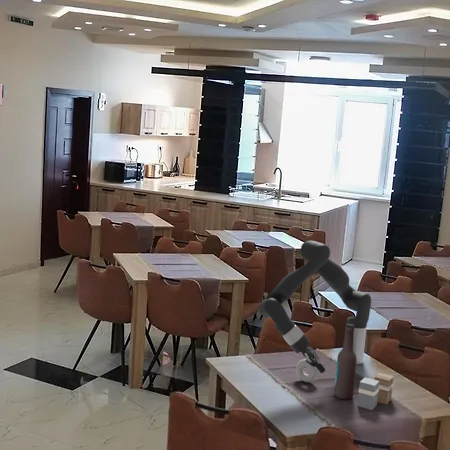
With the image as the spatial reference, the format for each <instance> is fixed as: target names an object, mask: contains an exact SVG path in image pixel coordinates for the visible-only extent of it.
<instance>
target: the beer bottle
mask: <svg viewBox="0 0 450 450" xmlns="http://www.w3.org/2000/svg"><path fill="white" fill-rule="evenodd" d="M344 329H345V331H344V337H343V344H342V348H341V350H340V351H339V353H338V355H337V358H336V368H335V380H334V390H333V391H334V392H333V393H334V394H333V395H334V397H336V398H337V399H338V400H339V399H340V400H344V401H345V400H346V401H347V400H351V399H353V398H354V392H355V390H354V389H355V380H356V372H357V371H356V369H357V364H356V360H357V357H356V354H355V353H354V351H353V340H354V325H353V324H345V327H344Z"/></svg>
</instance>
